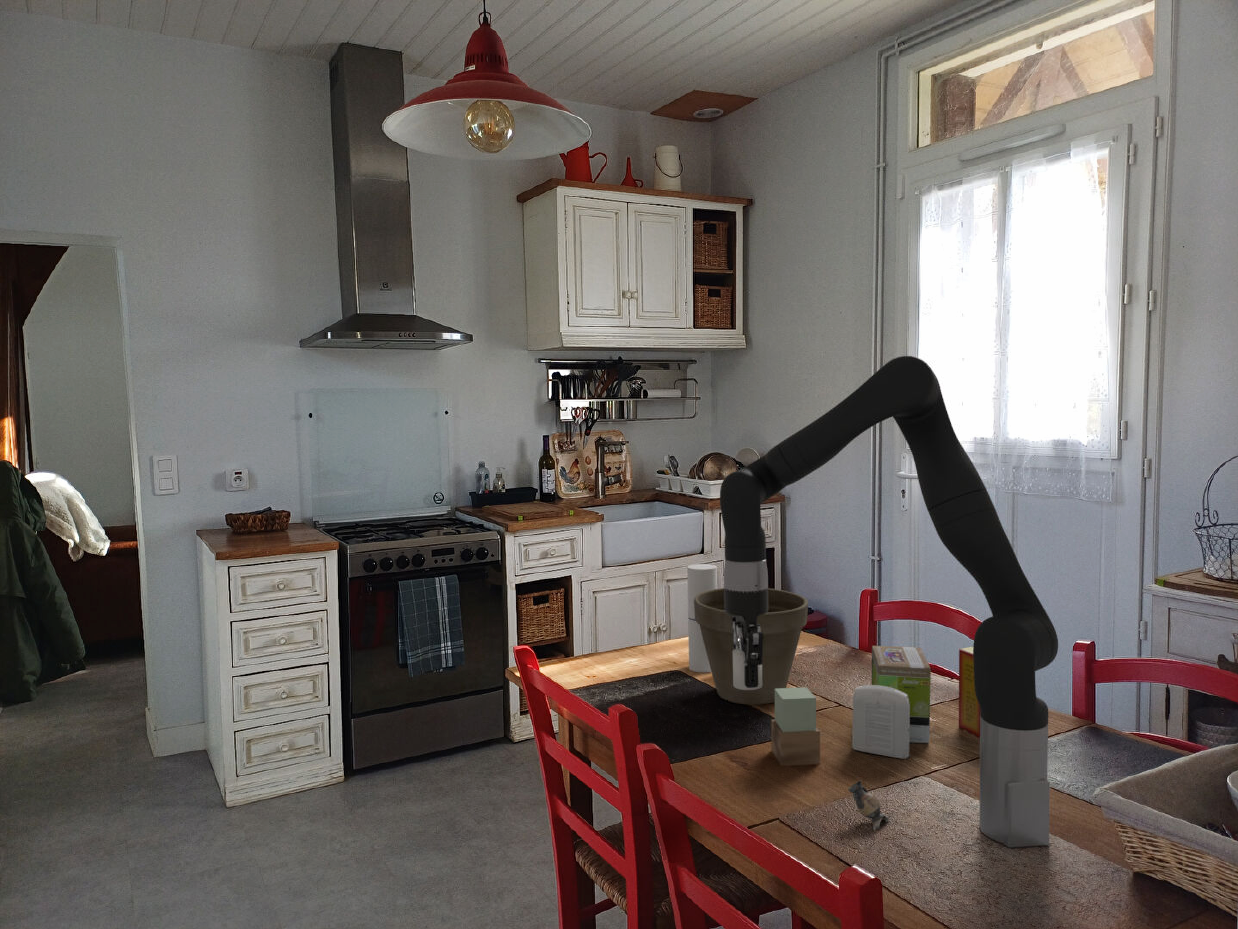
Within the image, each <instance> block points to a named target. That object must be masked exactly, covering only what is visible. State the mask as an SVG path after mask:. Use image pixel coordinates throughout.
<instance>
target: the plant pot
mask: <svg viewBox="0 0 1238 929" xmlns="http://www.w3.org/2000/svg"><path fill="white" fill-rule="evenodd" d="M808 607H809V601H808V599H807V598H806V597H804V596H802V595H800V594H798V593H794V592H792V591H791V592H790V591H788V590H787V591H786V590H782V589H777V588H769V587H768V612H767V613H765V614H763V615H759V616H758V617H757V623H758V624H760V629H761V632H762V633H763V651H762V687H761V688H759V689H756V690H741V689H737V688H735V687H734V686H733V650H734V648H733V631H732V621H731V618H732V616H735V615H731V614H728V613H727V612H726V611H725V608H724V587H722V588H720V587H719V588H717V589H713V590H708V591H705V592H702V593H700V594H698V595H696V597H695V598H694V609H695V620H696V622H697V623H698V624H699V625H700V629H701V633H702V637H703V641H704V645H705V649H706V653H707V656H708V660H709V664H710V668H711V672H710V673H711V675H712V680H713V683H714V686H715V689H716V692H717V694H718V696H719V697H720V698H722V699H723V700H725V701H727V700H728V702H731V703H734V704H741V705H748V706H749V705H751V706H753V705H754V706H755V705H766V704H767V705H769V704H772V703H775V689H778V688H787V687H788V682H789V678H790V675H791V671H792V668H793V664H794V659H795V656H796V652H797V649H798V645H799V641H800V637H801V632H802V629H803V628H804V627H805V626H806V625H807V622H808V613H809V612H808V610H809V609H808ZM738 638H739V637H738Z"/></svg>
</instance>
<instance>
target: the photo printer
mask: <svg viewBox="0 0 1238 929" xmlns="http://www.w3.org/2000/svg"><path fill="white" fill-rule="evenodd" d="M909 729H910V704H909V698H908V695H907V694H905V693H904V692H901V691H899V690H896V689H894V688H890V687H886V686H879V685H871V684H868V685H867V684H866V685H859V686H856V688H854V692H853V696H852V737H851V738H852V743H851V744H852V747H851V748H852V749H853V750H855V751H859V752H862V753H869V754H874V755H879V756H880V755H881V756H885V757H891V758H896V759H902V760H903V759H905V760H906V759H907V758H909V756H910V742H909Z"/></svg>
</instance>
